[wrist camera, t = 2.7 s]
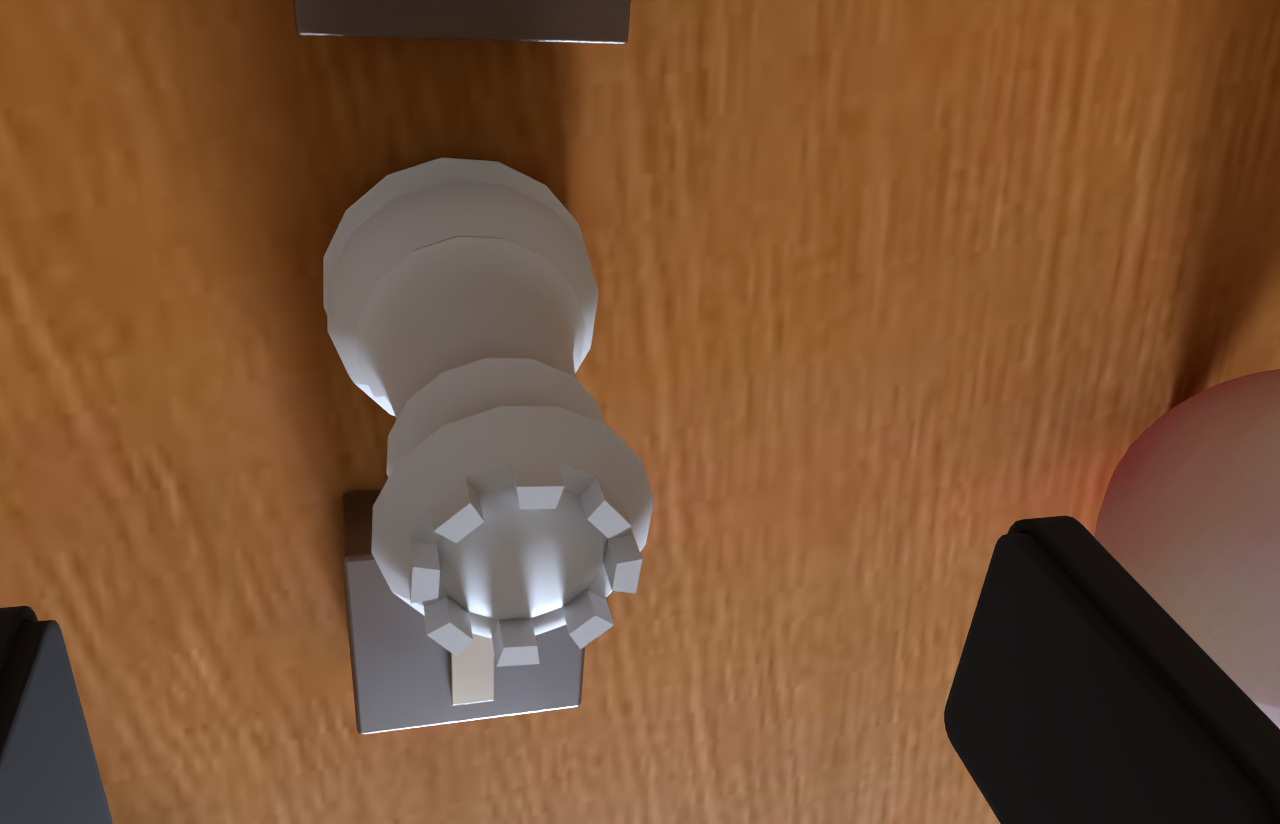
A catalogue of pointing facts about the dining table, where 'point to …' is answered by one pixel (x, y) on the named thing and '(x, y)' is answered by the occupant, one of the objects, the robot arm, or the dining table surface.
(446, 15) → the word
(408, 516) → the rook chess piece
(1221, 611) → the decorative fruit
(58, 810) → the robot arm
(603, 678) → the dining table surface
